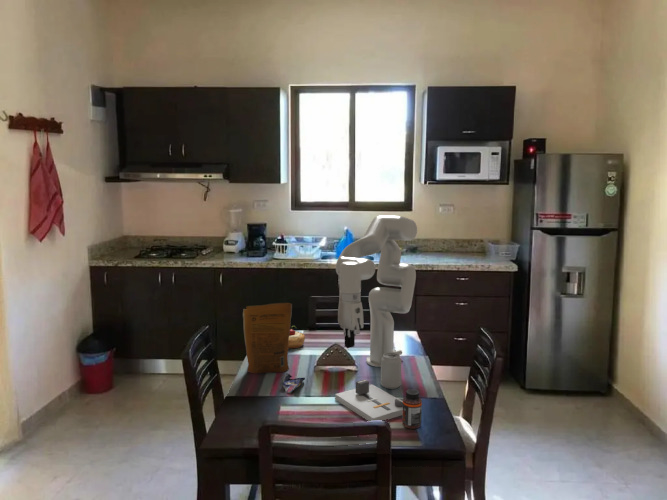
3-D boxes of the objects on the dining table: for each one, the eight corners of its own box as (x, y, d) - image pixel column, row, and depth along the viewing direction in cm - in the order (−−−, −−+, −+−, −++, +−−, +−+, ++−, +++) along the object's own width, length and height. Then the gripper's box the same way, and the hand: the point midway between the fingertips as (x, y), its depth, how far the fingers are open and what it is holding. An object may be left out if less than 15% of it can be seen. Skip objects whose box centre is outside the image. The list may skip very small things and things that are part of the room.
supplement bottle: (400, 421, 181) (401, 387, 180) (418, 420, 182) (419, 387, 180) (404, 429, 176) (405, 395, 174) (423, 429, 176) (424, 395, 174)
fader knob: (364, 390, 199) (365, 378, 198) (368, 392, 197) (369, 381, 196) (355, 392, 197) (355, 381, 196) (359, 395, 195) (359, 383, 194)
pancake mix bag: (293, 373, 221) (292, 304, 216) (244, 376, 218) (242, 305, 214) (292, 367, 227) (291, 299, 223) (244, 369, 225) (242, 301, 220)
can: (402, 383, 212) (403, 352, 210) (398, 391, 205) (399, 359, 203) (383, 380, 214) (383, 350, 212) (378, 388, 207) (378, 357, 205)
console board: (371, 389, 206) (372, 379, 205) (411, 412, 188) (411, 401, 187) (335, 399, 197) (335, 389, 197) (373, 424, 179) (373, 413, 179)
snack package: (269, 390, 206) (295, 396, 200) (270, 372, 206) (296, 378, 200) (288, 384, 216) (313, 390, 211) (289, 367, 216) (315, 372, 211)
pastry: (273, 347, 252) (272, 328, 251) (288, 340, 262) (287, 321, 261) (294, 351, 246) (293, 332, 245) (310, 343, 256) (309, 324, 254)
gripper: (371, 299, 194) (370, 350, 197) (346, 291, 207) (346, 339, 209) (353, 302, 190) (352, 354, 193) (329, 293, 202) (329, 342, 205)
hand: (349, 346), depth 201 cm, fingers closed
